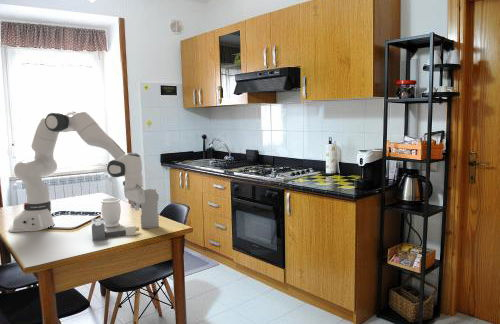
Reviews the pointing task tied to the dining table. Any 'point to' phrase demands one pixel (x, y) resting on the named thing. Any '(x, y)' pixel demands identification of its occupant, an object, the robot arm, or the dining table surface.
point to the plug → (122, 231)
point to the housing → (98, 229)
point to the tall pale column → (150, 209)
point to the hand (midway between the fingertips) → (135, 209)
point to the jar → (111, 211)
